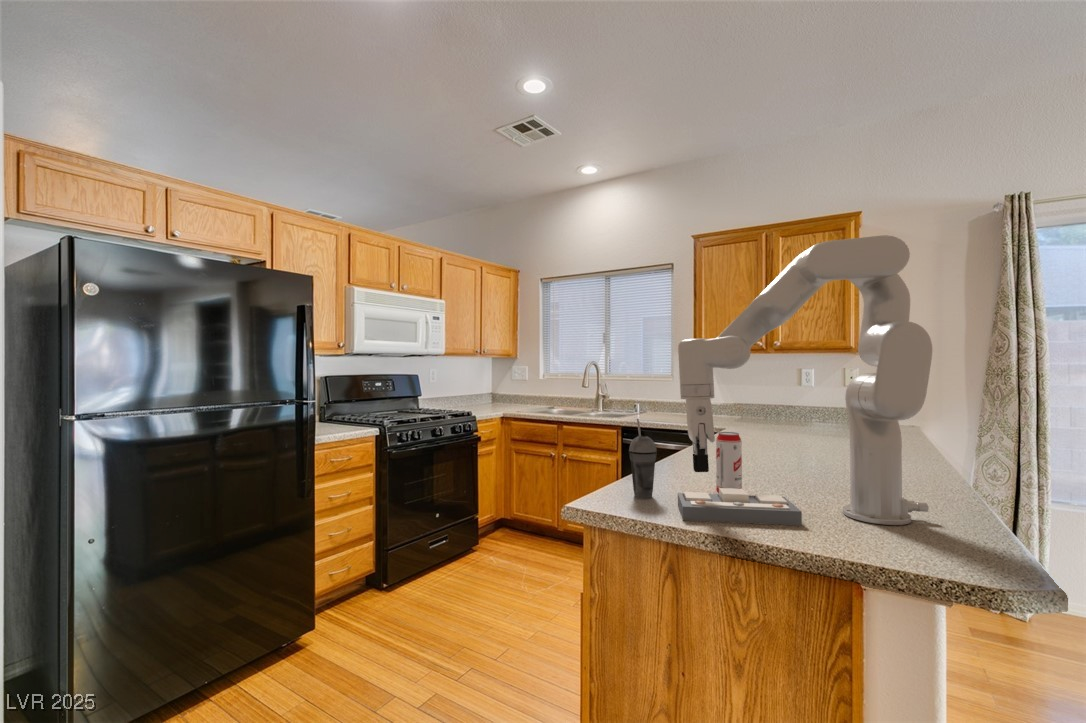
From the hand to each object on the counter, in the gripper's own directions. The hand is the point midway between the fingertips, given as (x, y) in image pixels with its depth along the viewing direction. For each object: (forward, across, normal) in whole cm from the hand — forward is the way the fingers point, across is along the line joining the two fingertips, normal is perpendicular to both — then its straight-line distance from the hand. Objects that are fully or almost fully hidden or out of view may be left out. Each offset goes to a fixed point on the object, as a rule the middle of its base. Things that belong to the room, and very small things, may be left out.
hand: (701, 471), depth 115 cm
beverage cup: (+9, +11, +13) cm, 19 cm away
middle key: (+8, 0, -7) cm, 10 cm away
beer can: (+10, +16, -9) cm, 21 cm away
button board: (+9, -2, -7) cm, 12 cm away
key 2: (+9, 0, -15) cm, 17 cm away
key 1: (+8, 0, +1) cm, 9 cm away
